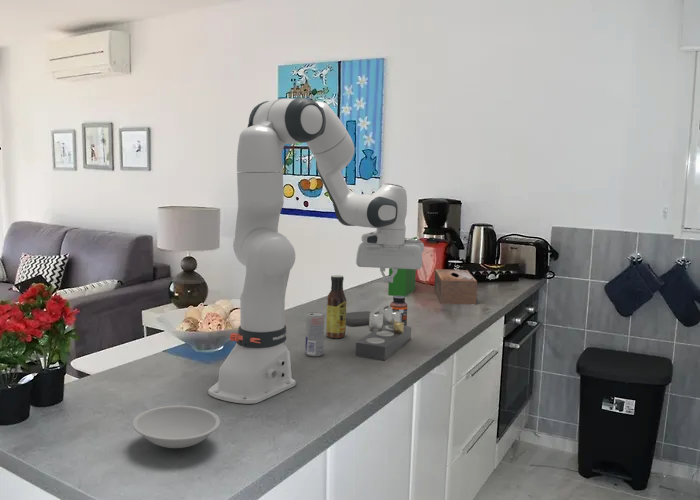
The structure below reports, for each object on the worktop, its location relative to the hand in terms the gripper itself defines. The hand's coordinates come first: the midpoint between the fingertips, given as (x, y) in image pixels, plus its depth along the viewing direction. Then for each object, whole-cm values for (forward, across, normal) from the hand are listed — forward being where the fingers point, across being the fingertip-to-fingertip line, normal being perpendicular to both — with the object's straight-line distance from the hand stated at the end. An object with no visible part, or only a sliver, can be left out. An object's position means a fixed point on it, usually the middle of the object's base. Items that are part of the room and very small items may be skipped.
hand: (387, 282), depth 177 cm
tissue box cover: (+18, -38, -68) cm, 80 cm away
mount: (+20, 0, +2) cm, 20 cm away
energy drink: (+21, +22, +9) cm, 31 cm away
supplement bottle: (+20, -7, -18) cm, 27 cm away
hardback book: (+18, -16, -77) cm, 81 cm away
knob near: (+13, +4, +9) cm, 16 cm away
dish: (+22, +48, +65) cm, 84 cm away
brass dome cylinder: (+16, -4, 0) cm, 16 cm away
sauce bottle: (+20, +15, -9) cm, 27 cm away
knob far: (+15, -3, -5) cm, 17 cm away
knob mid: (+12, 0, +2) cm, 13 cm away
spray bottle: (+20, +1, -30) cm, 36 cm away
